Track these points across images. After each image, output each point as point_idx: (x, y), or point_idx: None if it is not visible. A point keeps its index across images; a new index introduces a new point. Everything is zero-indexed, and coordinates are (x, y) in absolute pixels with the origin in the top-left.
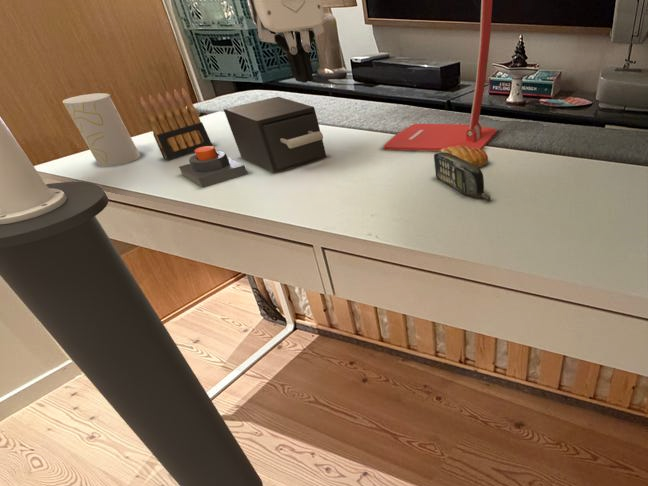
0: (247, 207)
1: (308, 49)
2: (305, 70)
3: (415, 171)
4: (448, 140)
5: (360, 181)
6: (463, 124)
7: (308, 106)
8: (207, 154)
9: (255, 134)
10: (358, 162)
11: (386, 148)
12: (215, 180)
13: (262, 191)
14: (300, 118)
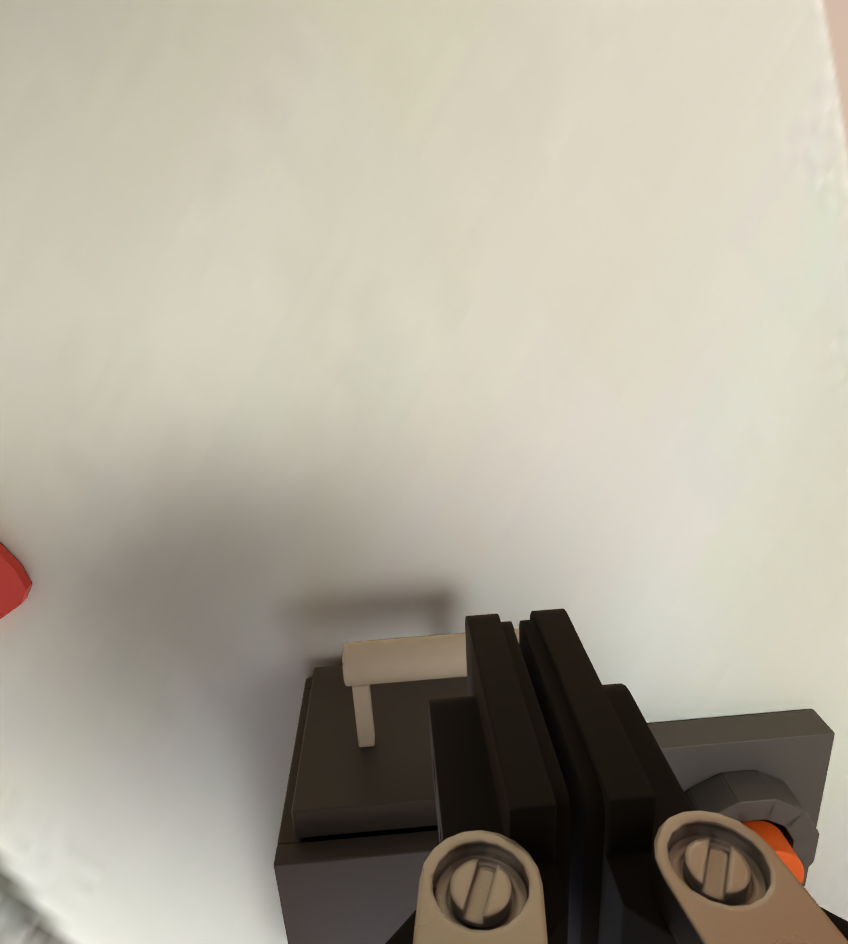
0: (832, 401)
1: (450, 872)
2: (544, 674)
3: (44, 177)
4: None
5: (343, 287)
6: None
7: (294, 892)
8: (771, 839)
9: None
10: (224, 520)
11: (23, 573)
12: (765, 720)
13: (700, 514)
14: (396, 798)
